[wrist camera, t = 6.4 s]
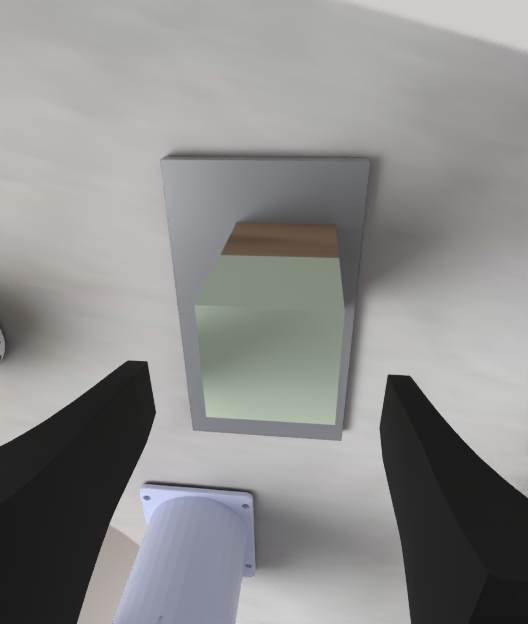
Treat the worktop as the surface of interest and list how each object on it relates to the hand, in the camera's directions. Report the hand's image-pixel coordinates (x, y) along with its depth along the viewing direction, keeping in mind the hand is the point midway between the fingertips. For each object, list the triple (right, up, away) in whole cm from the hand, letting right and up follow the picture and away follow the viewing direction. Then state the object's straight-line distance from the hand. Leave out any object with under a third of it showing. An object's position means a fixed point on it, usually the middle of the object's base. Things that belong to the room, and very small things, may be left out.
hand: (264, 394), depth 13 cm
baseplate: (0, +2, +10) cm, 10 cm away
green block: (+1, +3, +4) cm, 5 cm away
